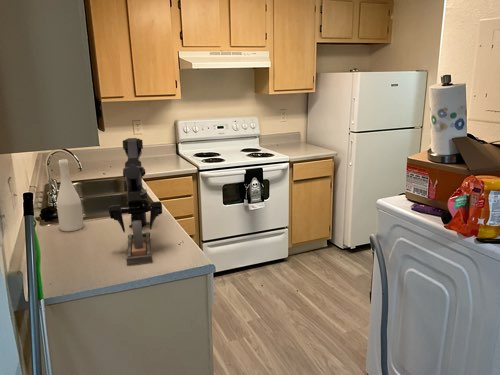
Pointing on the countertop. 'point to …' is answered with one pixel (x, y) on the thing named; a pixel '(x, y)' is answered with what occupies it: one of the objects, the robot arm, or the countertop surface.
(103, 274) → the countertop surface
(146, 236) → the guide rail
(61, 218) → the wine bottle
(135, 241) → the carriage
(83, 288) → the countertop surface
